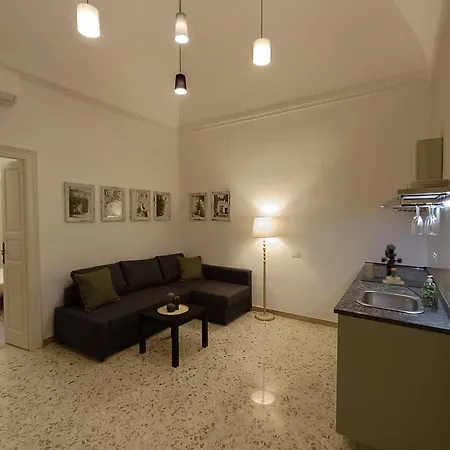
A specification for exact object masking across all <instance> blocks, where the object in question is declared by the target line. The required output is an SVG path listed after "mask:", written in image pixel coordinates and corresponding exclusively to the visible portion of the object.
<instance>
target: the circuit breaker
mask: <svg viewBox="0 0 450 450" xmlns="http://www.w3.org/2000/svg"><path fill="white" fill-rule="evenodd" d="M363 265H364V273H363V274H364V275H363V277H364V278H365V279H375V276H379V275H380V272H381V269H380V268H379V267H378V266H375V264H374V263H373V262H372V263H371V262H370V263H369V262H367V263H366V262H364V264H363Z"/></svg>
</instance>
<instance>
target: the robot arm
mask: <svg viewBox="0 0 450 450" xmlns="http://www.w3.org/2000/svg"><path fill="white" fill-rule="evenodd" d="M395 250H396V246H395V245H394V244H392V243H391V244H387V245H386V249H385V251H384V256H385V257H382V256H381V263H386V262H387V263H386V266H385V271H386V277H390V275H391V277H392V270H391V268H396V269H397V266H396V265H395V264H396V263H397V264H402V262H403V259H402V257H398V258H396V257H397V252H395Z"/></svg>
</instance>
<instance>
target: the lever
mask: <svg viewBox="0 0 450 450" xmlns="http://www.w3.org/2000/svg"><path fill="white" fill-rule="evenodd" d="M391 270H392V276H391V277H394V278H395V276H396V272H397V267H396V268H391Z"/></svg>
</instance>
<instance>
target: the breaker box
mask: <svg viewBox="0 0 450 450" xmlns="http://www.w3.org/2000/svg"><path fill="white" fill-rule="evenodd" d="M385 277H386V278H385V279H382V283H383V284H385V285H386V284H387V285H399V286H405V282H404V281H402V280H401V277H398V276H397V275H395V278H394V277H392V276H391V275H390V276H385Z"/></svg>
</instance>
